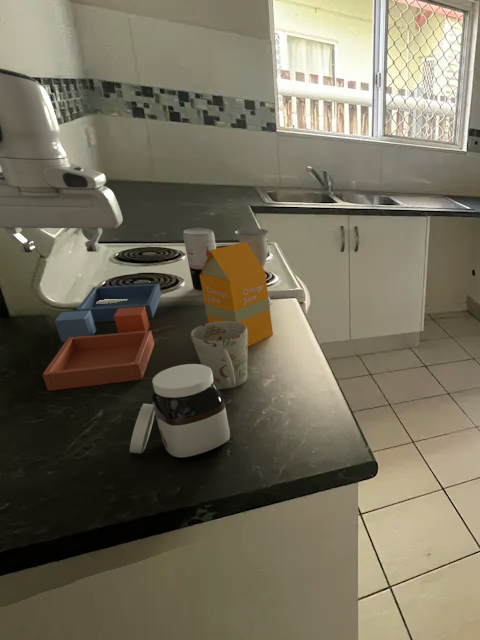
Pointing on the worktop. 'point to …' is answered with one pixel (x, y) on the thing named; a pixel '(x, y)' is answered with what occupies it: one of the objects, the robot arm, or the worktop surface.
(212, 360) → the mug
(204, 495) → the worktop surface
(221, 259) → the orange juice
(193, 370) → the spread jar
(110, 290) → the blue tray
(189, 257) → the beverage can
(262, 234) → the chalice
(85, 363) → the rust tray
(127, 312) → the rust block
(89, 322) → the blue block
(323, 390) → the worktop surface
